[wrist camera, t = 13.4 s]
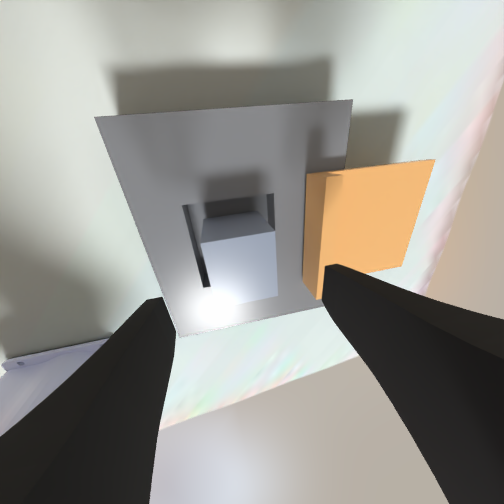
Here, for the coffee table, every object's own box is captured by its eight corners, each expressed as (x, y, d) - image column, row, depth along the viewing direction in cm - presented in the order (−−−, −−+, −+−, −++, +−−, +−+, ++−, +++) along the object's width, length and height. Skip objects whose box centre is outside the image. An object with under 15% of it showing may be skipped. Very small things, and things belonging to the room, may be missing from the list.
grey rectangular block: (214, 266, 16) (216, 308, 12) (203, 215, 14) (200, 243, 10) (259, 258, 17) (278, 295, 12) (255, 208, 15) (275, 231, 10)
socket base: (184, 313, 19) (179, 337, 17) (119, 125, 12) (94, 116, 9) (313, 287, 21) (327, 305, 18) (325, 110, 14) (352, 99, 11)
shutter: (302, 281, 16) (316, 299, 14) (306, 173, 12) (326, 177, 10) (395, 262, 17) (421, 277, 15) (426, 159, 13) (466, 159, 11)
